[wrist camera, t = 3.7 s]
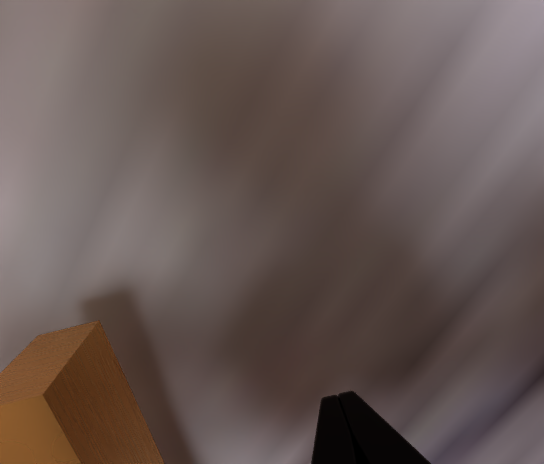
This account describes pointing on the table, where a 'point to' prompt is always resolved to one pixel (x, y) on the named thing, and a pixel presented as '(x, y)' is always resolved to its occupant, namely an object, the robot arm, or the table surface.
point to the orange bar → (71, 404)
